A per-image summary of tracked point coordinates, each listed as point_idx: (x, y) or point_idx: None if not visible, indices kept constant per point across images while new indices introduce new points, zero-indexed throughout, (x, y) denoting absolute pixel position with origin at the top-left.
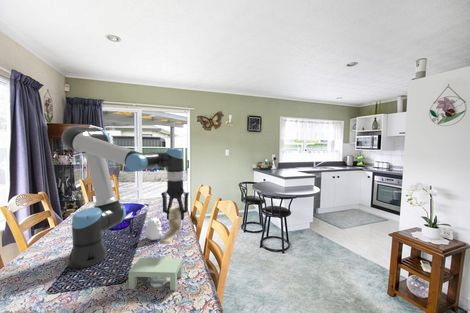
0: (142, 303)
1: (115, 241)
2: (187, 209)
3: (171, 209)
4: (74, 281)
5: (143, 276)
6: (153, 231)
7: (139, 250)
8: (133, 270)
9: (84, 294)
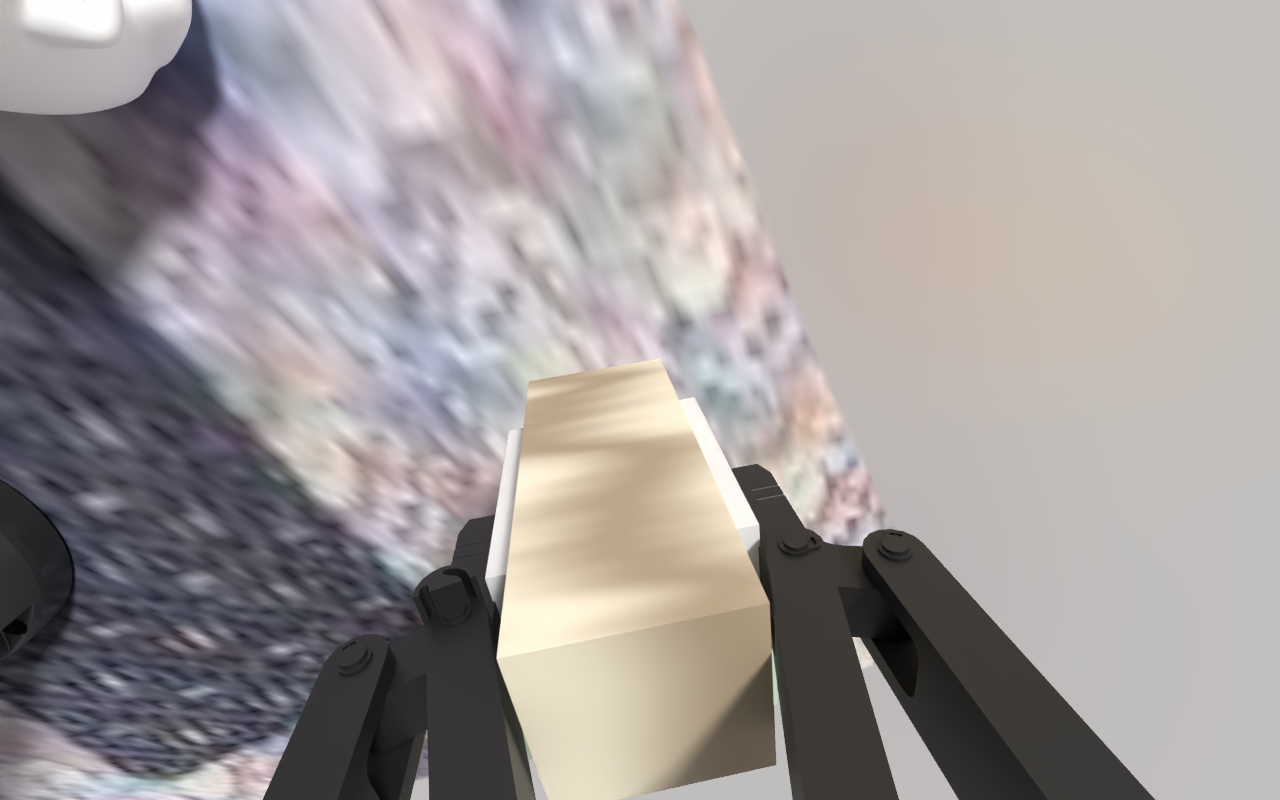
0: None
1: None
2: (929, 576)
3: (601, 788)
4: (171, 708)
5: None
6: (49, 87)
7: (195, 326)
8: None
9: None
